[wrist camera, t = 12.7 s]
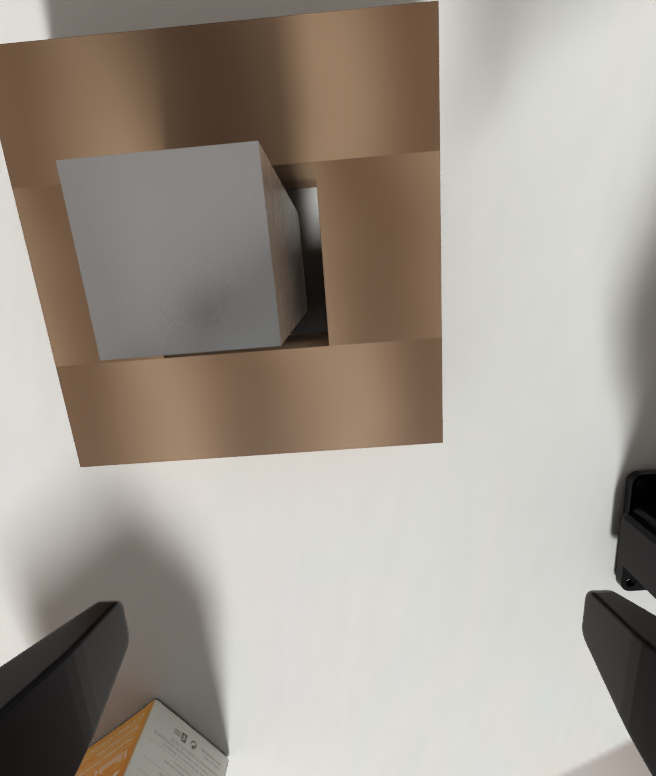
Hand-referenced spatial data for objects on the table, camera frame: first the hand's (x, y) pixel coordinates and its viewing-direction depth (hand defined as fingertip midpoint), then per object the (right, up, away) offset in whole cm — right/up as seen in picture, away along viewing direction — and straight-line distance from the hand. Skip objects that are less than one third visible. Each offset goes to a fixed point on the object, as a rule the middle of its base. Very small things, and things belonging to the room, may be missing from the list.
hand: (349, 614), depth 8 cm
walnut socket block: (-4, +10, +10) cm, 14 cm away
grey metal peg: (-3, +10, +10) cm, 14 cm away
